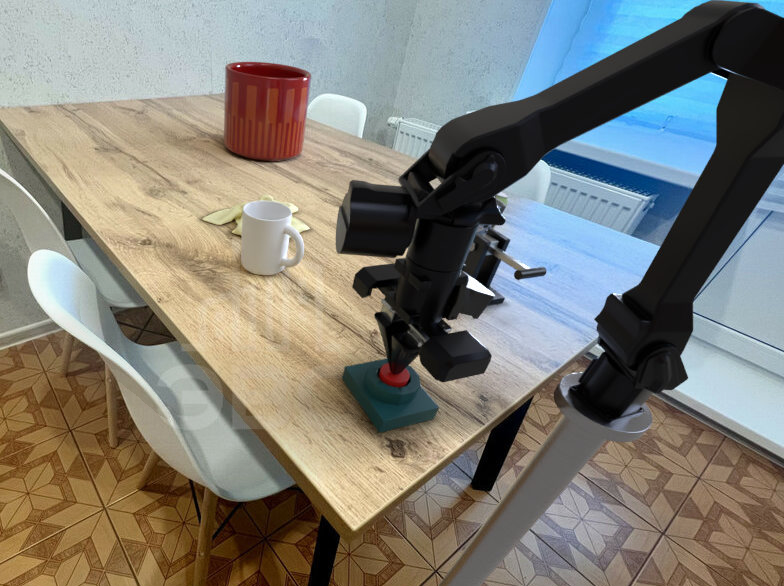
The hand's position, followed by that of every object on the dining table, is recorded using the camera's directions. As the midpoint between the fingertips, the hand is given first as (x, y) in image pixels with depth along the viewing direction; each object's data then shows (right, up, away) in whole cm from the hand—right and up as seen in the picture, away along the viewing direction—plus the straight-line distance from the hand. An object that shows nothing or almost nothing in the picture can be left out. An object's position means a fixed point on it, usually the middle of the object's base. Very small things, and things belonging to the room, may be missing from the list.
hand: (395, 372), depth 57 cm
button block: (0, -3, +3) cm, 5 cm away
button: (0, -1, +1) cm, 2 cm away
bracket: (+20, +14, +26) cm, 36 cm away
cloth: (-18, +31, +40) cm, 54 cm away
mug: (-15, +18, +26) cm, 35 cm away
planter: (-18, +64, +78) cm, 103 cm away
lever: (+22, +17, +17) cm, 33 cm away
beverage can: (+27, +26, +40) cm, 55 cm away
